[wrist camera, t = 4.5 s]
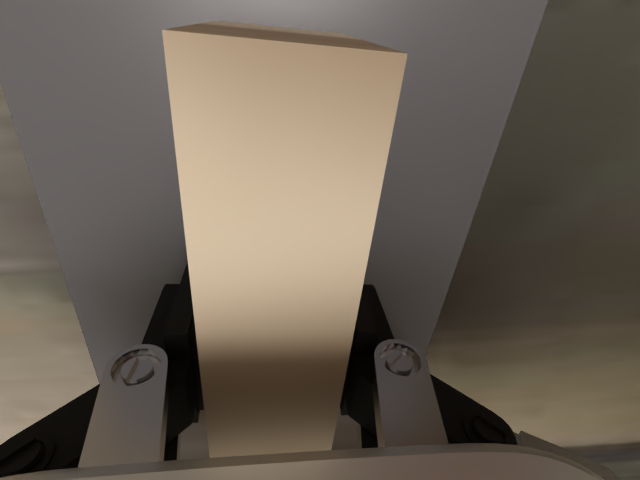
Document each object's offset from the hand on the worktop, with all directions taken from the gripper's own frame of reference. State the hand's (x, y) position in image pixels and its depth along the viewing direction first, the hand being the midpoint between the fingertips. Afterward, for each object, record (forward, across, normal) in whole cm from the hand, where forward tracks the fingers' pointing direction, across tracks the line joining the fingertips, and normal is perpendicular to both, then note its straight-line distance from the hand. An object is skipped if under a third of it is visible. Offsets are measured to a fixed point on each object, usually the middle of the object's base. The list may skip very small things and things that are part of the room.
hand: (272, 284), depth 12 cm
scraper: (0, 0, 0) cm, 0 cm away
